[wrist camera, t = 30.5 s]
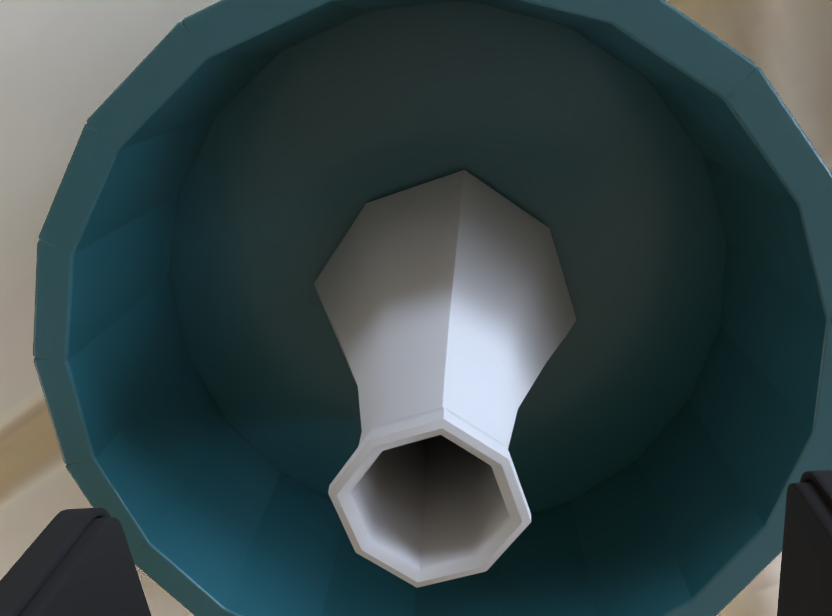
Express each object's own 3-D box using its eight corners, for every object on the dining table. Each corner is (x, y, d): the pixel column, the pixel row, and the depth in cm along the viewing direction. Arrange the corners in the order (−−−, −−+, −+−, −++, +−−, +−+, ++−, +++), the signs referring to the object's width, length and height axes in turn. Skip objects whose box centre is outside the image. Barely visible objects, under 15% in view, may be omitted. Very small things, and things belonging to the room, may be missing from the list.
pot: (187, -105, 18) (51, -171, 12) (853, 63, 19) (1040, 80, 13) (130, 467, 25) (21, 610, 19) (627, 583, 25) (679, 760, 19)
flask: (471, 120, 19) (477, 206, 10) (619, 322, 21) (739, 553, 12) (272, 273, 21) (123, 465, 12) (423, 446, 23) (394, 729, 14)
